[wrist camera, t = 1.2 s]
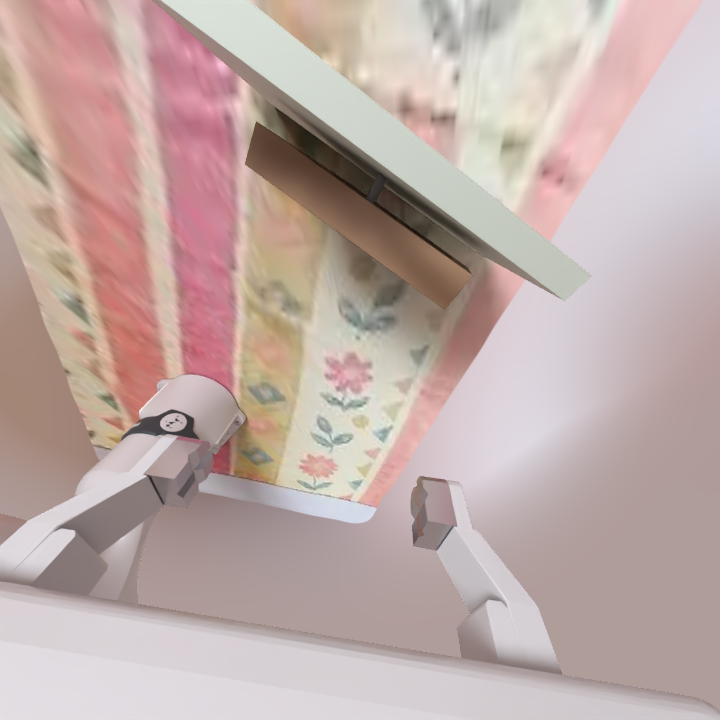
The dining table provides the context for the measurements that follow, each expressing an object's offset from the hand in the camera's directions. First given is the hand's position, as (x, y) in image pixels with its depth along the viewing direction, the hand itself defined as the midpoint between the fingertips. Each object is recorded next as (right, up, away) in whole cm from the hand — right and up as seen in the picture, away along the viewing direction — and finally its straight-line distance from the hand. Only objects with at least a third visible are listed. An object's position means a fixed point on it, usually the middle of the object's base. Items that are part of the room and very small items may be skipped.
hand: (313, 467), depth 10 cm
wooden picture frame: (+6, +20, +22) cm, 30 cm away
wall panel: (+5, +28, +23) cm, 36 cm away
